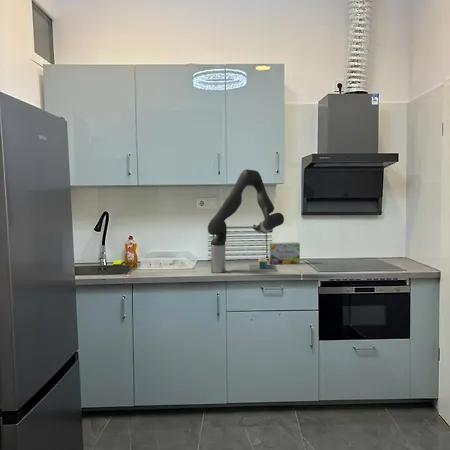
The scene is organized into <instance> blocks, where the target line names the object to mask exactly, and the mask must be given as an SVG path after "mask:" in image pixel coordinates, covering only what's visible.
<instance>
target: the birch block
mask: <svg viewBox="0 0 450 450" xmlns="http://www.w3.org/2000/svg"><path fill="white" fill-rule="evenodd" d="M267 264H268V260H267V258H266V257H258V265H259V269H267Z"/></svg>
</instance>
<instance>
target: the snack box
mask: <svg viewBox="0 0 450 450" xmlns="http://www.w3.org/2000/svg"><path fill="white" fill-rule="evenodd" d="M300 244H301V243H300V242H298V241H297V242H296V241H294V242H286V241H285V242H269V243H268V264H275V265H300V264H301V263H300V262H301V261H300V260H301V259H300V258H301V257H300V253H301V251H300V250H301V248H300V247H301V246H300Z"/></svg>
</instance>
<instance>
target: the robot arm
mask: <svg viewBox="0 0 450 450" xmlns="http://www.w3.org/2000/svg"><path fill="white" fill-rule="evenodd" d="M247 186H249V187H254V189H255V191H256V194H257V198H256V200H257V201H256V202H257V204H258V206H259V208H260V209H261V212H262V214H263V218H264V219H263V220H262V221H260V222H259V223H258V225H257V224H253V226H252V230H254V231H255V232H258V233H259V234H261V233H263V234H268V233H273V230H274V229H275V228H277V227H279V226H281V225H283V224H284V222H285V217H284V215H283V214H282V213H281V212H276V213H275V212H274V210H275V206H274V204H273V201H272V200H271V199H270V197H269V195H268V193H267V190H266V188H265V184H264V182H263V178H262V176H261V174H260V172H259V171H258V170H255V169H249V168H248V169H244V170H242V171H241V173H240V174H239V176H238V178H237V180H236V182H235V184H234V186H233V188H232V189H231V191H230V192H229V195H227V197H226V198H225V199H224V200H225V201H224V202H223V203H222V205H221V206H220V208H219V210H217V213H216V214H215V215H214V216H213V217H212V219H211V220H210V221H209V223H208V225H207V232H208V233H209V234H210V235H212V236H213V235H214V236H215V237H214V238H213V239H212V240H211V241H210V273H214V274H215V273H225V272H226V271H227V270H226V265H227V264H226V243H227V234H228V233H227V231H228V228H227V223H226V220H227V219H228V218H229V217H231V216H233V215H234V214H235V213H236V212H237V210H238V209H239V208H240V206H241V205H242V202H243V196H242V195H243V192H244V190H245V189H246V188H247ZM273 212H274V213H273ZM271 213H272V214H271Z"/></svg>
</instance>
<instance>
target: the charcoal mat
mask: <svg viewBox="0 0 450 450" xmlns="http://www.w3.org/2000/svg"><path fill="white" fill-rule="evenodd" d="M276 265H277V264H269V263H267V269H259V264H249V265H248V267H249V268H248V271H249V273H272V272H273V273H275V272H276V273H278V272H279V270H278V268H277V266H276Z"/></svg>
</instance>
